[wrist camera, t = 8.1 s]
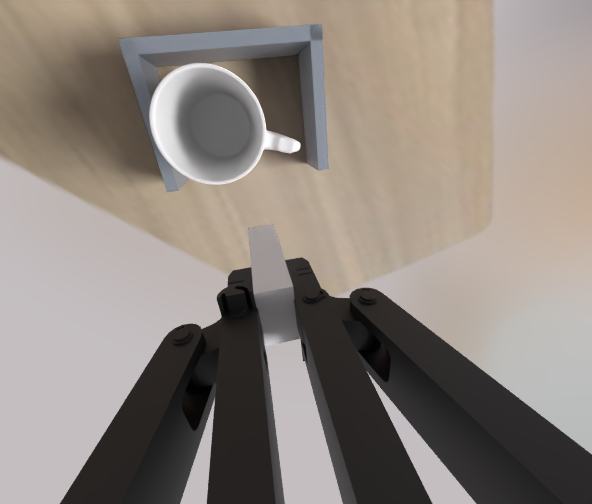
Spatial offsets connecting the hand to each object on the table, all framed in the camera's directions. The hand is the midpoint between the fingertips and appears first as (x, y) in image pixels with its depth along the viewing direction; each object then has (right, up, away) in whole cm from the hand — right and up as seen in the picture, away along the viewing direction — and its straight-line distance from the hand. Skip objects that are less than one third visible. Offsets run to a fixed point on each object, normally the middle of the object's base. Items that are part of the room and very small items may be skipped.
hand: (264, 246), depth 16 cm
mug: (-4, +12, +11) cm, 17 cm away
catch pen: (-4, +13, +11) cm, 18 cm away
